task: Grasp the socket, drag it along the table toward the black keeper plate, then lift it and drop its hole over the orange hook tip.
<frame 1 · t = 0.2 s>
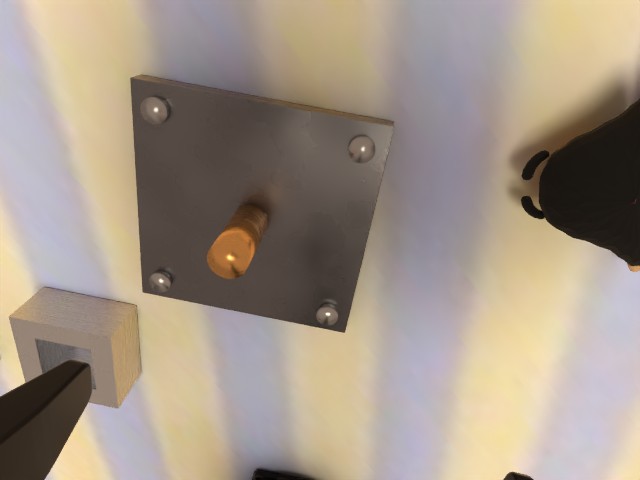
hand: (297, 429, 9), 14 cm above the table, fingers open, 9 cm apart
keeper: (255, 213, 23), on the table
socket: (95, 332, 28), on the table
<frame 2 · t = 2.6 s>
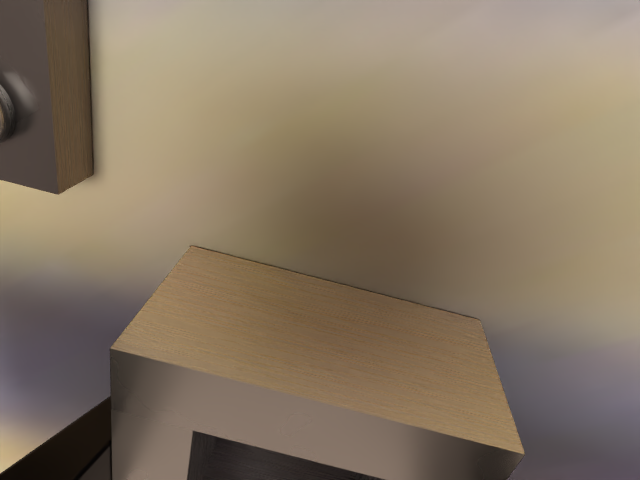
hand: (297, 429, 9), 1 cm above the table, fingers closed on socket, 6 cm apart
socket: (305, 385, 10), on the table, touching gripper
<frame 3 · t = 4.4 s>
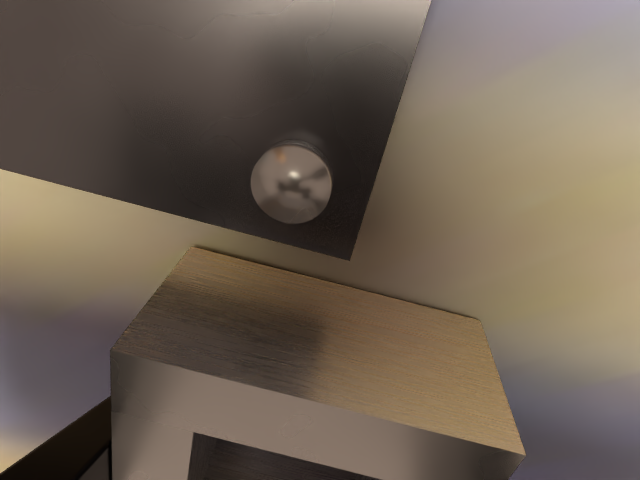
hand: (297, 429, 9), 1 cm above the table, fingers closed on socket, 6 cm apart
socket: (305, 385, 10), on the table, touching gripper
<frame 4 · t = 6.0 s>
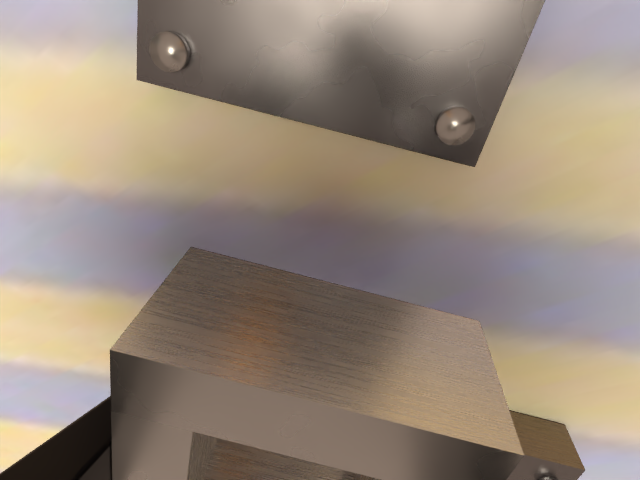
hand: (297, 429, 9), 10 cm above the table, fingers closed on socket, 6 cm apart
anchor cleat: (502, 431, 22), on the table
socket: (304, 385, 10), point 9 cm above the table, touching gripper
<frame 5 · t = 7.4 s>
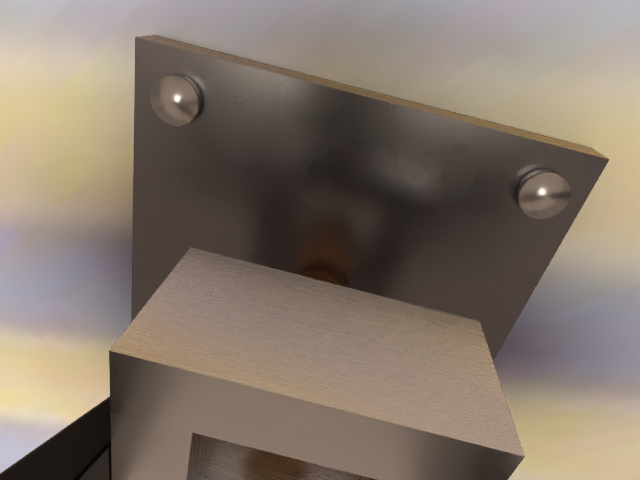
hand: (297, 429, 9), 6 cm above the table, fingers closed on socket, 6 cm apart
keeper: (322, 274, 14), on the table
socket: (304, 386, 10), point 5 cm above the table, touching gripper
when the fingers open (4 cm above the table, at t = 8.5 s): socket drops 2 cm, resting on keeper.
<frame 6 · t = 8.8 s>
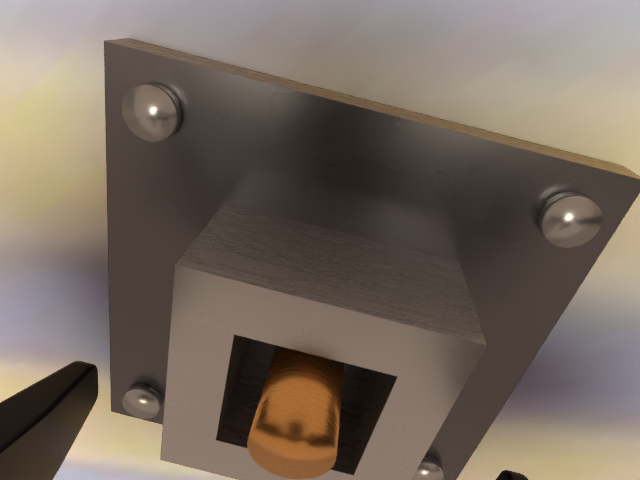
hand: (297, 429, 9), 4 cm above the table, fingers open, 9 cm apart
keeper: (320, 302, 13), on the table
socket: (315, 324, 12), point 1 cm above the table, touching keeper
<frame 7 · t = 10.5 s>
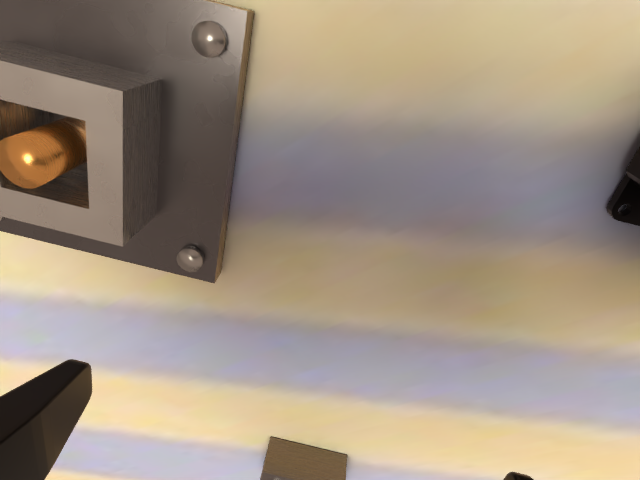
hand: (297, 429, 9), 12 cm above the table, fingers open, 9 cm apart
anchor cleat: (304, 460, 28), on the table
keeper: (102, 128, 19), on the table
socket: (89, 134, 18), point 1 cm above the table, touching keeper
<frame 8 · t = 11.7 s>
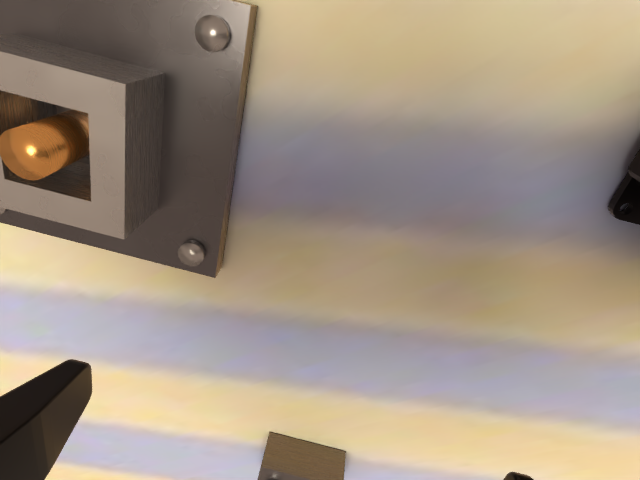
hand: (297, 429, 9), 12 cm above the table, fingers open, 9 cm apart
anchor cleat: (302, 456, 28), on the table
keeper: (105, 122, 19), on the table
socket: (92, 128, 18), point 1 cm above the table, touching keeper
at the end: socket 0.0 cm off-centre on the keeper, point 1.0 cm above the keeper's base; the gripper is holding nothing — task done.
